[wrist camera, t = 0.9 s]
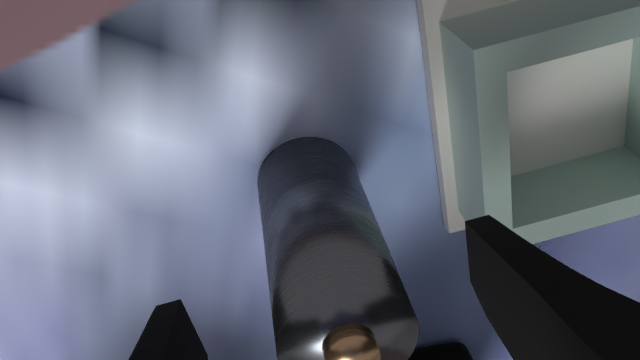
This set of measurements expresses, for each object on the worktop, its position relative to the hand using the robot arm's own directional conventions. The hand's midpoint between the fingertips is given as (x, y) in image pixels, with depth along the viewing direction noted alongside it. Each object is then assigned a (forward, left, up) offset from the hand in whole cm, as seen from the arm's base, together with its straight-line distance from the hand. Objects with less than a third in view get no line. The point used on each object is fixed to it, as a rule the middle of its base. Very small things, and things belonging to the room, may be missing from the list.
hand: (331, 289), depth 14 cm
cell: (0, 0, -5) cm, 5 cm away
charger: (-10, -1, -5) cm, 11 cm away
